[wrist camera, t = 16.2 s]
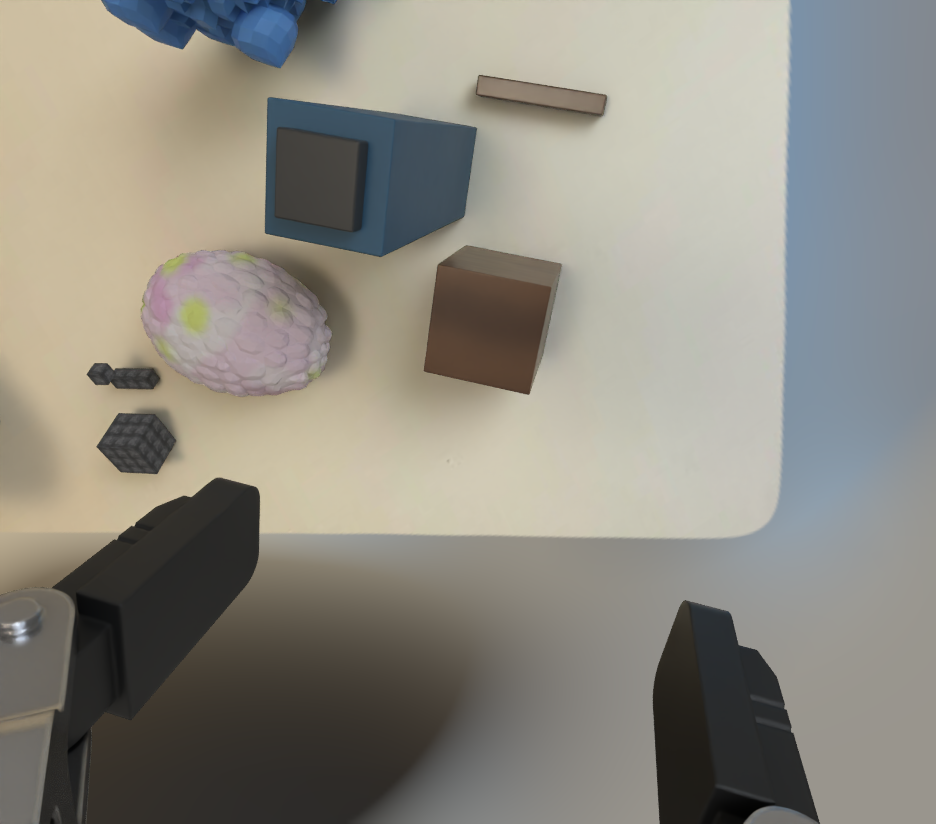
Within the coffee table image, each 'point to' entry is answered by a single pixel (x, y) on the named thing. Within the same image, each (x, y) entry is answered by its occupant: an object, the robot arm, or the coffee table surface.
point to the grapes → (218, 23)
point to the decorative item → (235, 323)
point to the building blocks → (133, 425)
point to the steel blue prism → (362, 175)
